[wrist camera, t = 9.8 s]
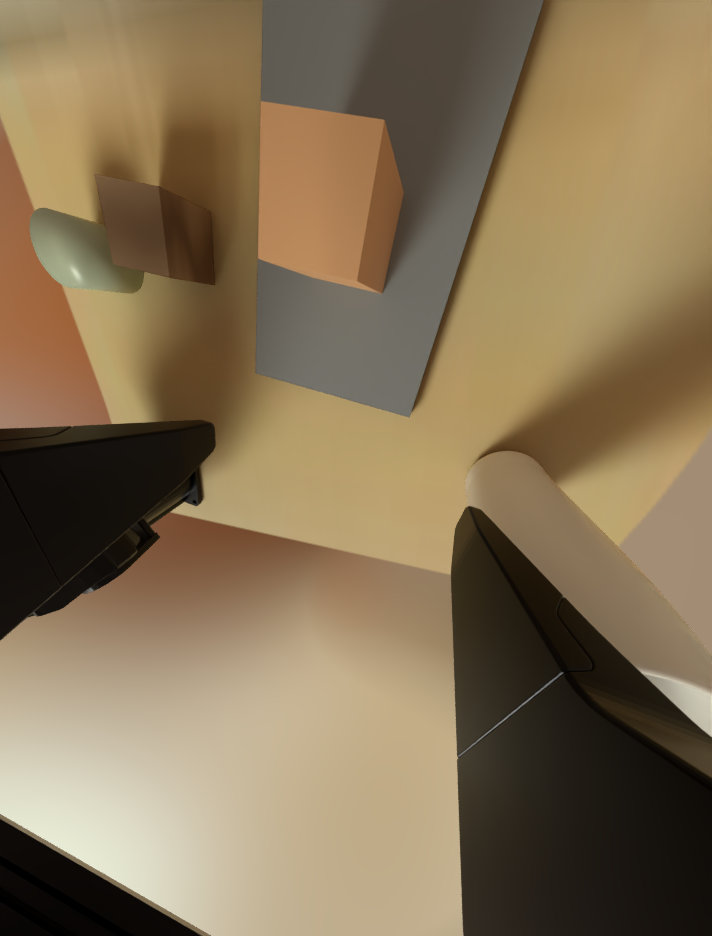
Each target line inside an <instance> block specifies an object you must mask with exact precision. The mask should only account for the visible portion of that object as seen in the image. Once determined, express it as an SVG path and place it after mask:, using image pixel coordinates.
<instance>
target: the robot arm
mask: <svg viewBox="0 0 712 936" xmlns="http://www.w3.org/2000/svg"><path fill="white" fill-rule="evenodd" d="M215 446H216V442H215V427H214V425H213V424H212V423H210V422H207V421H204V420H190V421H169V422H148V423H127V424H106V425H88V426H87V425H85V426H73V427H71V426H66V427H65V426H64V427H41V428H11V429H10V428H9V429H0V640H2V639H3V638H4V637H5V636H6V635H7V634H9V633H10V632H11V631H12V630H13V629H14V628H15V627H17V626H18V625H19V624H20V623H21V622H22V621H24V620H25V619H26V618H27V617H31V616H34V615H35V616H42V615H45V614H48V613H51V612H54V611H57V610H60V609H62V608H64V607H65V606H66V605H68V604H69V603H70V602H71V601H72V600H74V599H75V598H77V597H78V596H79V595H80V594H82V593H84V594H87V593H90V592H93V591H95V590H97V589H99V588H101V587H102V586H104V585H106V584H108V583H109V582H111V581H112V580H114V579H115V578H117V577H118V576H119V575H121V574H122V573H123V572H124V571H126V570H127V569H128V568H129V567H130V566H131V565H132V564H133V563H134V562H135V561H136V560H137V559H138V558H139V557H140V556H141V555H142V554H143V553H145V551H146V550H148V549H149V548H150V547H151V546H152V545H153V544H154V543H155V542H156V541H157V540H158V539H159V538H160V536H159V535H158V534H157V533H155V532H154V530H153V529H152V528H151V527H150V526H151V525H152V524H154V523H155V522H156V521H158V520H159V519H161V518H162V517H163V516H165V515H166V514H168V513H169V512H170V511H172V510H173V509H175V508H176V507H178V506H179V505H180V504H182V503H183V502H186V503H189V504H192V505H195V506H198V505H199V504H200V503H201V494H200V484H199V474H198V467H199V466H200V465H201V464H202V463H203V461H204V460H205V459H206V458H207V457H208V456H209V455H210V454H211V453H212V452H213V451H214V449H215ZM451 593H452V620H453V621H452V622H453V650H454V678H455V703H456V704H455V707H456V734H457V757H458V759H457V769H458V800H459V828H460V857H461V886H462V914H463V935H464V936H712V737H711V736H710V735H709V734H707V733H706V732H705V731H704V730H702V729H701V728H700V727H699V726H698V725H697V724H696V723H694V722H693V721H692V720H691V719H690V718H689V717H688V716H687V715H686V714H685V713H684V712H682V711H681V710H680V709H679V708H678V707H677V706H676V705H675V704H674V703H673V702H672V701H671V700H670V699H669V698H668V697H667V696H666V695H664V694H663V693H662V692H661V691H660V690H659V689H658V688H657V687H656V686H655V685H654V684H653V683H652V682H651V681H650V680H649V679H648V678H647V677H645V676H644V675H643V674H642V673H641V672H640V671H639V670H638V669H637V668H636V667H635V666H634V665H633V664H632V663H631V662H630V661H629V660H628V659H626V658H625V657H624V656H623V655H622V654H621V653H620V652H619V651H618V650H617V649H616V648H615V647H614V646H613V645H612V644H611V643H610V642H609V641H608V640H607V639H606V638H605V637H604V636H603V635H601V634H600V633H599V632H598V631H597V630H596V629H595V628H594V627H593V626H592V625H591V624H590V623H589V622H588V621H587V619H586V618H585V617H584V616H583V615H582V614H581V613H580V612H579V611H578V610H577V609H576V608H575V607H574V606H573V605H572V604H571V603H570V602H569V601H568V600H567V599H566V598H565V597H563V595H562V594H561V593H560V592H559V590H558V589H557V588H556V587H555V586H554V585H553V584H552V583H551V582H550V581H549V580H548V579H547V578H546V577H545V576H544V575H543V574H542V573H541V572H540V571H539V570H538V568H537V567H536V566H535V565H534V564H533V563H532V562H531V561H530V560H529V559H528V558H527V557H526V556H525V555H524V554H523V553H522V552H521V551H520V550H519V549H518V548H517V546H516V545H515V544H514V543H513V542H512V541H511V540H510V539H509V538H508V537H507V536H506V535H505V534H504V533H503V532H502V531H501V530H500V529H499V528H498V527H497V526H496V524H495V523H494V522H493V521H492V520H491V519H490V518H489V517H488V516H487V515H486V514H485V513H484V512H483V511H482V510H481V509H478V508H475V507H472V506H467V507H466V508H465V510H464V512H463V514H462V516H461V518H460V520H459V521H458V523H457V525H456V528H455V534H454V545H453V555H452V566H451ZM562 597H563V598H562ZM0 936H211V935H209V934H207V933H205V932H204V931H202V930H200V929H198V928H197V927H195V926H193V925H191V924H190V923H188V922H186V921H185V920H183V919H181V918H179V917H178V916H176V915H174V914H172V913H171V912H169V911H167V910H166V909H164V908H162V907H160V906H159V905H157V904H155V903H153V902H152V901H150V900H148V899H146V898H145V897H143V896H141V895H139V894H138V893H136V892H134V891H132V890H131V889H129V888H127V887H126V886H124V885H122V884H120V883H119V882H117V881H115V880H114V879H112V878H110V877H108V876H107V875H105V874H103V873H101V872H100V871H98V870H96V869H94V868H93V867H91V866H89V865H88V864H86V863H84V862H82V861H81V860H79V859H77V858H75V857H74V856H72V855H70V854H68V853H67V852H65V851H63V850H61V849H60V848H58V847H56V846H55V845H53V844H51V843H49V842H48V841H46V840H44V839H42V838H41V837H39V836H37V835H35V834H34V833H32V832H30V831H29V830H27V829H25V828H23V827H22V826H20V825H18V824H16V823H15V822H13V821H11V820H10V819H7V818H6V817H4V816H3V815H1V814H0Z"/></svg>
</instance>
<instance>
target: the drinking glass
mask: <svg viewBox="0 0 712 936" xmlns="http://www.w3.org/2000/svg"><path fill="white" fill-rule="evenodd" d="M465 494H466V507H467V506H472V507H475V508H478V509H481V510H482V511H483V512H484V513H485V514H486V515H487V516H488V517H489V518H490V519H491V520H492V521H493V522H494V523H495V524H496V526H497V527H498V528H499V529H500V530H501V531H502V532H503V533H504V534H505V535H506V536H507V537H508V538H509V539H510V540H511V541H512V542H513V543H514V544H515V545H516V546H517V548H518V549H519V550H520V551H521V552H522V553H523V554H524V555H525V556H526V557H527V558H528V559H529V560H530V561H531V562H532V563H533V564H534V565H535V566H536V567H537V568H538V570H539V571H540V572H541V573H542V574H543V575H544V576H545V577H546V578H547V579H548V580H549V581H550V582H551V583H552V584H553V585H554V586H555V587H556V588H557V589H558V590H559V592H560V593H561V594H562V595H563V597H565V598H566V599H567V600H568V601H569V602H570V603H571V604H572V605H573V606H574V607H575V608H576V609H577V610H578V611H579V612H580V613H581V614H582V615H583V616H584V617H585V618H586V619H587V621H588V622H589V623H590V624H591V625H592V626H593V627H594V628H595V629H596V630H597V631H598V632H599V633H600V634H601V635H603V636H604V637H605V638H606V639H607V640H608V641H609V642H610V643H611V644H612V645H613V646H614V647H615V648H616V649H617V650H618V651H619V652H620V653H621V654H622V655H623V656H624V657H625V658H626V659H628V660H629V661H630V662H631V663H632V664H633V665H634V666H635V667H636V668H637V669H638V670H639V671H640V672H641V673H642V674H643V675H644V676H645V677H647V678H648V679H649V680H650V681H651V682H652V683H653V684H654V685H655V686H656V687H657V688H658V689H659V690H660V691H661V692H662V693H663V694H664V695H666V696H667V697H668V698H669V699H670V700H671V701H672V702H673V703H674V704H675V705H676V706H677V707H678V708H679V709H680V710H681V711H682V712H684V713H685V714H686V715H687V716H688V717H689V718H690V719H691V720H692V721H693V722H694V723H696V724H697V725H698V726H699V727H700V728H701V729H702V730H704V731H705V732H706V733H707V734H709V735H710V736H711V737H712V656H711V654H710V653H709V652H708V651H707V649H706V648H705V647H704V645H703V644H702V643H701V641H700V640H699V639H698V638H697V636H696V635H695V634H694V632H693V631H692V630H691V629H690V627H689V626H688V625H687V624H686V622H685V621H684V620H683V619H682V618H681V616H680V615H679V614H678V612H677V611H676V610H675V609H674V608H673V606H672V605H671V604H670V603H669V602H668V601H667V599H666V598H665V597H664V596H663V595H662V594H661V592H660V591H659V590H658V589H657V588H656V587H655V586H654V584H653V583H652V582H651V581H650V580H649V579H648V578H647V577H646V576H645V574H643V572H642V571H641V570H640V569H639V568H638V567H637V566H636V565H635V564H634V563H633V562H632V561H631V560H630V559H629V558H628V557H627V556H626V554H625V553H623V551H622V550H621V549H620V548H619V547H618V546H617V545H616V544H615V543H614V542H613V541H612V540H611V539H610V538H609V537H608V536H607V535H606V534H605V533H604V532H603V531H602V530H601V529H600V528H599V527H598V526H597V525H596V524H595V523H594V522H593V521H592V520H591V519H590V518H589V517H588V516H587V515H586V514H585V513H584V512H583V511H582V510H581V509H580V508H579V507H578V506H577V505H576V504H575V503H574V502H573V501H572V500H571V499H570V498H569V497H568V496H567V495H566V494H565V493H564V492H563V491H562V490H561V488H560V487H559V486H558V485H557V484H556V483H555V482H554V481H553V480H552V479H551V478H550V477H549V476H548V475H547V473H546V472H545V470H544V469H543V468H542V466H541V465H540V464H539V463H538V462H537V461H536V460H535V459H533V458H532V457H530V456H528V455H526V454H523V453H520V452H516V451H499V452H494V453H491V454H488V455H486V456H484V457H482V458H481V459H479V460H478V461H477V462H476V463H475V464H474V465H473V466H472V467H471V468H470V470H469V471H468V473H467V476H466V479H465ZM563 597H562V598H563Z"/></svg>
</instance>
